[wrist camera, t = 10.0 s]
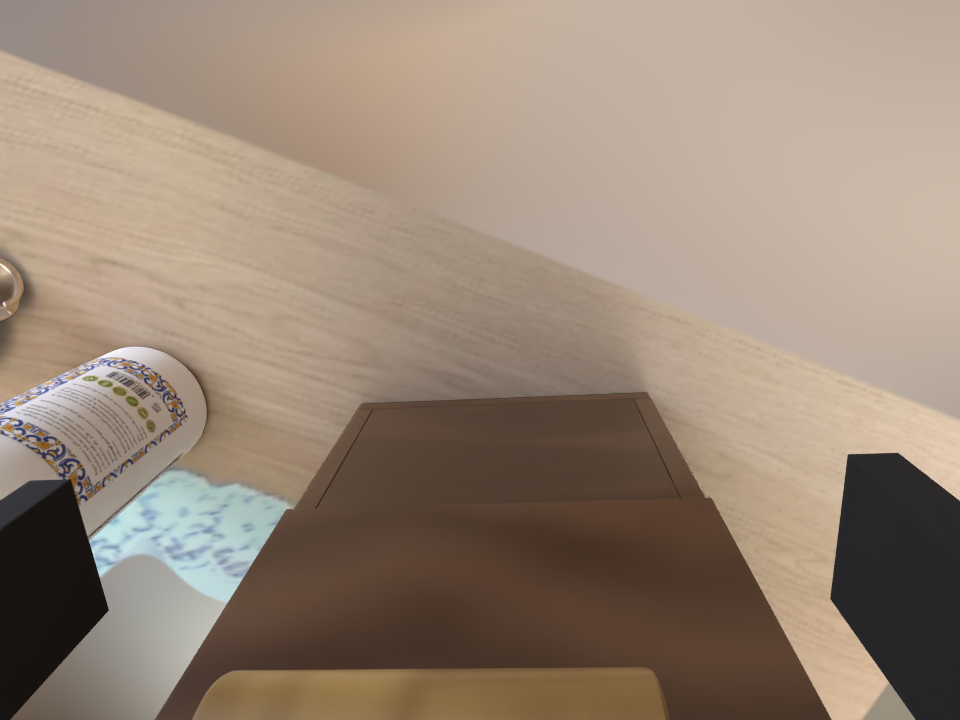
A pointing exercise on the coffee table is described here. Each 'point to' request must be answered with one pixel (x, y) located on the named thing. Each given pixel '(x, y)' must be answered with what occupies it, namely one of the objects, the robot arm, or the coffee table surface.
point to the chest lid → (498, 620)
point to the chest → (503, 454)
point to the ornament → (9, 289)
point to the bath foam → (103, 430)
